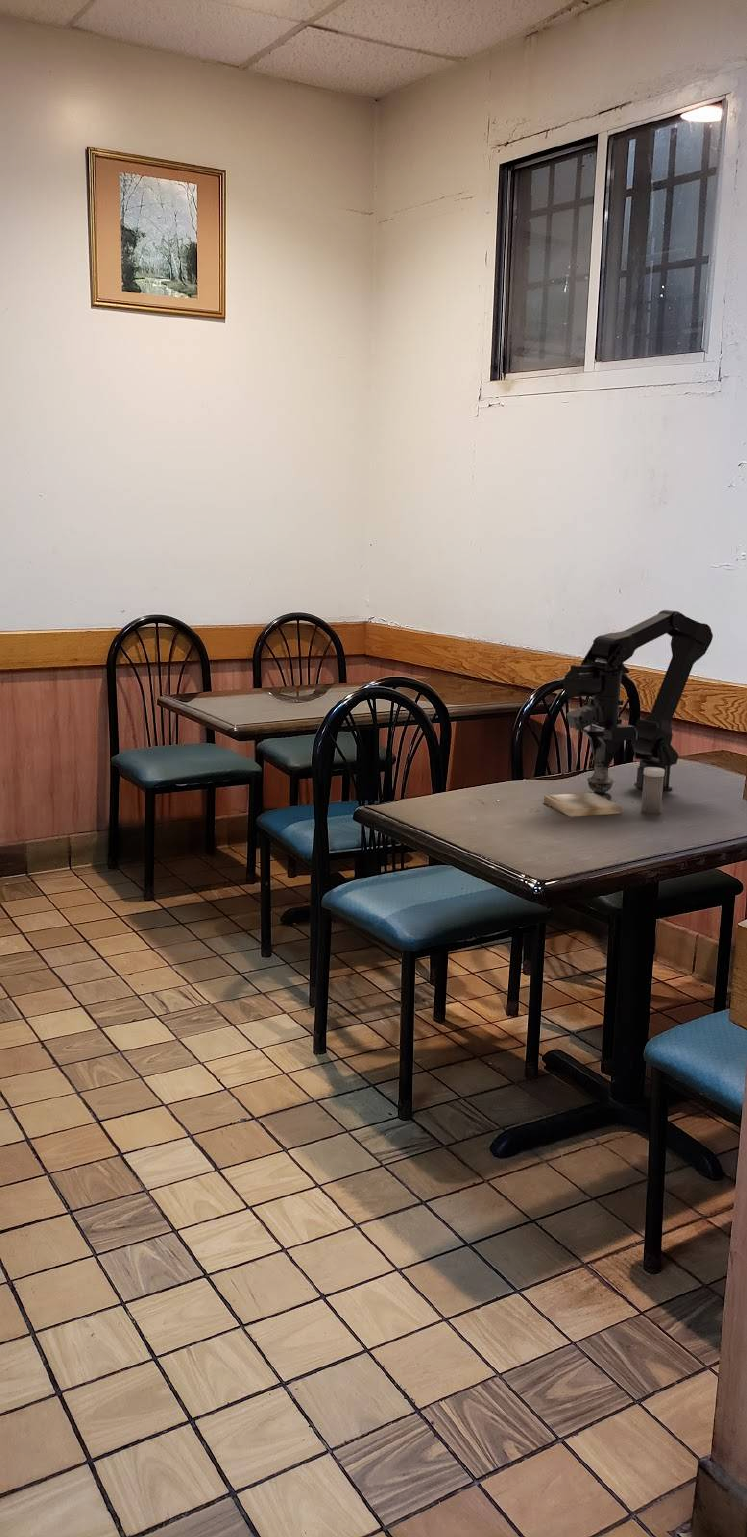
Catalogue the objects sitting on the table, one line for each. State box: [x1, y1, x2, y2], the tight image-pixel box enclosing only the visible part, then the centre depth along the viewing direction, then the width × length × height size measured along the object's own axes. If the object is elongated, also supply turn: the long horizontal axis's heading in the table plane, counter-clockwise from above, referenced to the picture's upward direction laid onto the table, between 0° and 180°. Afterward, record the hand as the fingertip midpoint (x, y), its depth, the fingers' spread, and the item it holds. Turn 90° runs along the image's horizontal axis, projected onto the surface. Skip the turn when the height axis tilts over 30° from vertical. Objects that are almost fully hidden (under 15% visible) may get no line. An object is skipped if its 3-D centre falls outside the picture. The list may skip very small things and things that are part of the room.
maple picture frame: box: [543, 792, 623, 817], centre depth 251 cm, size 12×12×2 cm
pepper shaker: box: [640, 767, 665, 815], centre depth 248 cm, size 4×4×9 cm
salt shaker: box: [586, 744, 615, 800], centre depth 261 cm, size 6×6×12 cm
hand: (601, 764), depth 261 cm, fingers closed on salt shaker, 4 cm apart
